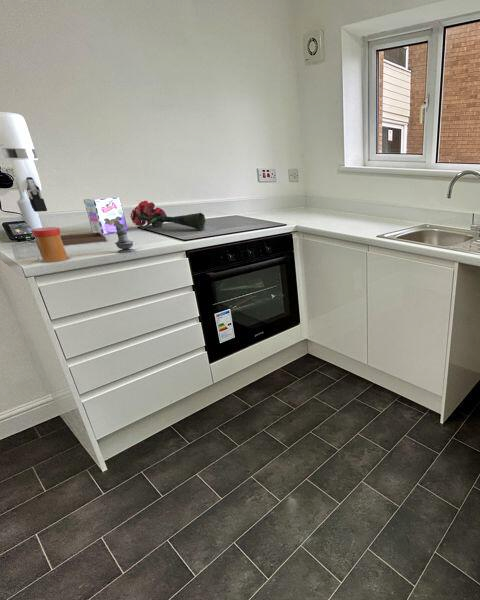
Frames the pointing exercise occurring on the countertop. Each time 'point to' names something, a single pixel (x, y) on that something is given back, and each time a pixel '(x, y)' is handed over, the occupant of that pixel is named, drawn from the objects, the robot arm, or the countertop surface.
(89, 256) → the countertop surface
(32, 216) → the bottle
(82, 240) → the tray
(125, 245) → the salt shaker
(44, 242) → the jar
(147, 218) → the carnation
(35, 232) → the lid
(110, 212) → the candy box
